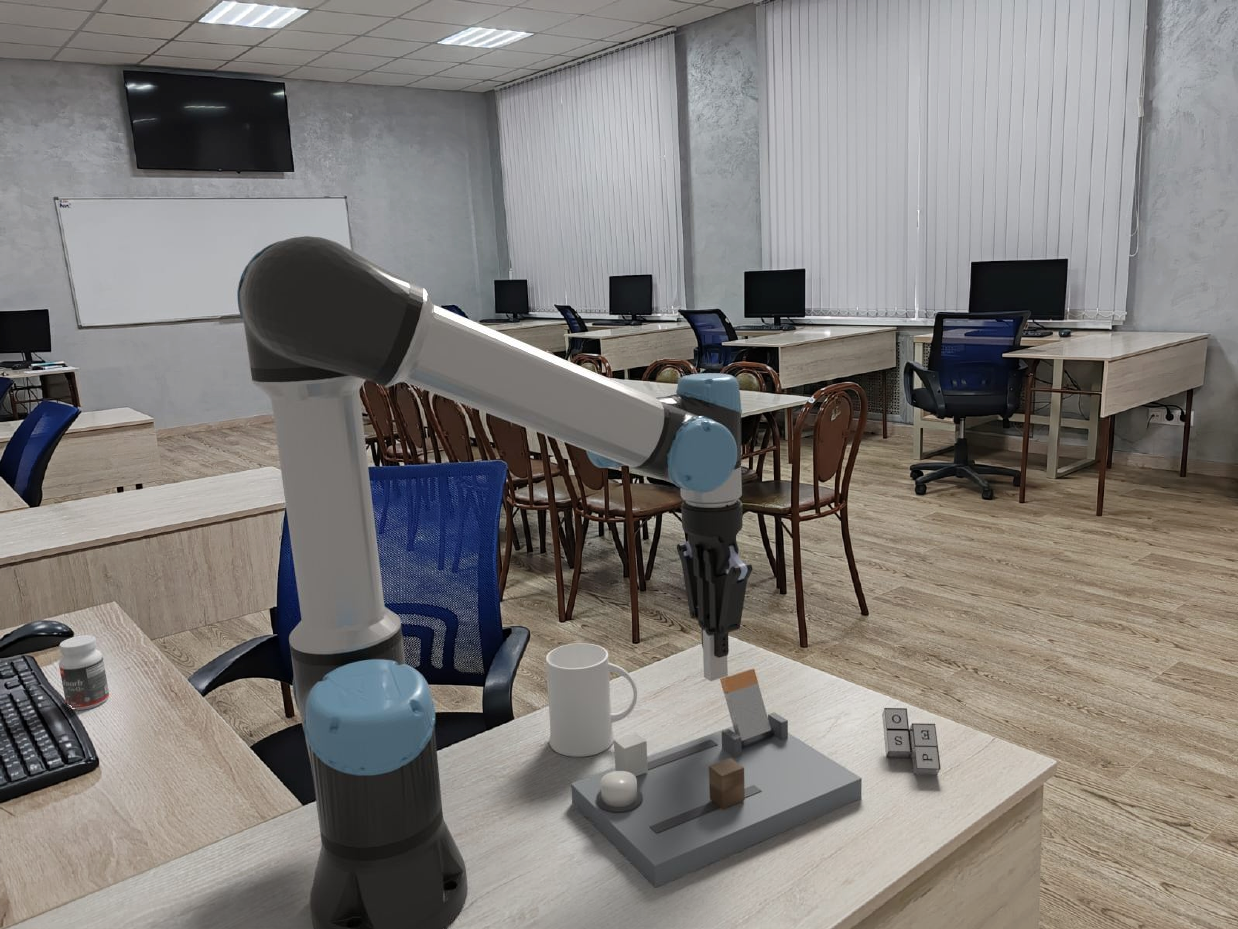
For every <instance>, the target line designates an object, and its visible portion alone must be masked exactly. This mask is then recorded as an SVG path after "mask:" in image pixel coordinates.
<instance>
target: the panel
mask: <svg viewBox="0 0 1238 929" xmlns="http://www.w3.org/2000/svg"><path fill="white" fill-rule="evenodd" d="M767 717H768V720H769V724H770V727H771V728H772V730H773V731H774V737H772V738H769V739H766V740H764V741H761V742H758V743H755V744H753V745H750V746H747V747H745V748H741V737H740V736H739V735H737V734H736V733H735V731H734V728H733V725H732V726H730V727H729V726H728V727H727V728H724V729H722V730H718V731H716V732H713V733H710V734H707V735H703V736H702V737H698V738H695V739H692V740H690V741H687V742H684V743H681V744H678V745H676V746H673V747H670V748H667V749H665V750H661V751H659V752H656V753H653V754H651V755H647V765H648V772H646V773H644V774H641V775H638V776H635V777H636V779H637V799H636V801H635V802H633V803H632V804H630V805H628V806H623V807H613V806H609V805H607V804H605V803H604V802H603V801H602V796H601V779H602V777H603V776H604V775H606V774H607V773H610V772H614V771H615V767H613V768H611V769H609V770H606V771H603V772H599V773H597V774H595V775H591V776H589V777H586V778H583V779H580V780H578V781H574V782H571V783H570V787H571V788H570V791H571V802H572V804H573V806H575V808H576V809H577V810H578V811H580V813H582V814H583V815H584V817H586V818H587V820H588V821H589V822H590V823H591V824H592V825H593V826H595V828H596V829H597V830H598V831H599V832H600V833H601V834H602V835H603V836H604V837H605V838H606V839H607V840H608V841H609V842H610V843H611V844H612V845H613V846H614V847H615V848H616V849H617V850H618V851H619V852H620V854H621V855H622V856H624V858H626V859H627V860H628V861H629V862H630V863H631V864H632V865H633V867H635V868H636V870H637V871H638V872H639V873H640V874H641V875H643V877H644V878H646V879H647V881H648V882H650V883H651V885H652V886H653V887H654V888H658V887H660V886H663V885H665V884H667V883H670V882H671V881H672V882H673V881H675V880H677V879H678V878H681V877H683V876H686V875H688V874H690V873H692V872H695V871H697V870H699V869H702V868H704V867H706V866H708V865H711V864H713V863H715V862H718V861H720V860H722V859H725V858H727V857H729V856H732V855H734V854H736V853H739V852H740V851H741V852H742V851H743V850H745V849H748V848H749V847H752V846H754V845H757V844H759V843H761V842H763V841H766V840H768V839H770V838H773V837H775V836H778V835H780V834H783V833H784V832H787V831H788V830H790V829H791V830H792V829H793V828H796V827H798V826H801V825H803V824H805V823H808V822H809V821H811V820H814V819H816V818H819V817H822V816H823V815H825V814H828V813H830V812H832V811H834V810H837V809H839V808H841V807H843V806H845V805H848V804H850V803H852V802H855V801H858V800H859V799H861V798H862V785H863V784H862V783H863V782H862V779H863V778H862V776H859V775H857V774H855V772H852V771H851V770H849V769H848V768H846V767H844V766H843V765H841V764H840V763H838V762H836V761H835V760H833V759H832V758H830V757H829V756H826V755H825V754H823V753H822V752H820V751H818V750H817V749H816V748H814V747H812V746H810V745H809V744H808V743H805V742H804V741H803V740H801V739H800V738H797V736H794V735H793V734H791V733H790V732H789V731H788V730H789V720H788V719H786V718H785V717H783V716H782V715H779V714H778V713H776V712H773V711H772V712H770V713H767ZM730 758H731V759H733V760H734V761H736V762H737V763H738V764H740V765H741V766H743V767H744V789H745V800H744V801H742V802H739V803H737V804H734V805H732V806H729V807H727V808H725V809H722V808H721V807H719V806H718V805H717V804H716V803H714V802H713V801H712V800H710V790H709V766H711V765H714V764H716V763H719V762H722V761H724V760H727V759H730Z"/></svg>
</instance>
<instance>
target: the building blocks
mask: <svg viewBox="0 0 1238 929" xmlns="http://www.w3.org/2000/svg"><path fill="white" fill-rule="evenodd" d="M881 716H882V717H881V718H882V725H883V737H884V748H885V749H884V750H885V757H886V758H902V759H903V758H904V759H906V758H908V759H909V758H911V761H912V769H913V770H912V771H913V775H925V776H926V775H927V776H930V775H931V776H933V775H934V776H937V775H938V774H939V773H940V771H941V770H942V768H941V761H940V754H939V753H940V752H939V746H938V743H939V742H938V736H937V727H936V723H923V722H922V723H919V722H918V723H917V722H915V723H913V722H912V723H911V725H910V726H909V718H908V717H909V716H908V709H907V708H905V707H904V708H903V707H884V709H883V711H882V714H881Z"/></svg>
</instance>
